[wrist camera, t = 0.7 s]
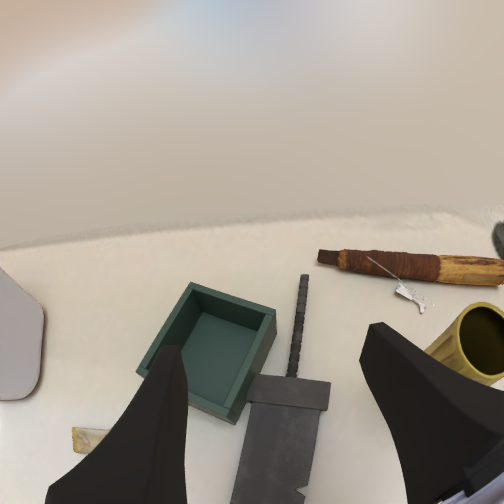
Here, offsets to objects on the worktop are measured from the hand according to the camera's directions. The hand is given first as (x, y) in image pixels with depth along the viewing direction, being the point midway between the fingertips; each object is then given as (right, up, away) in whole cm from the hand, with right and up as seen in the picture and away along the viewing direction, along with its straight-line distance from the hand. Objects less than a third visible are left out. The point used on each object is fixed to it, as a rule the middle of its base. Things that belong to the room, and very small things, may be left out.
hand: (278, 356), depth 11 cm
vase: (+14, -11, +13) cm, 22 cm away
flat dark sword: (+1, -13, +12) cm, 18 cm away
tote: (-5, -7, +18) cm, 20 cm away
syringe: (+15, -1, +19) cm, 24 cm away
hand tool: (+30, -1, +16) cm, 34 cm away
